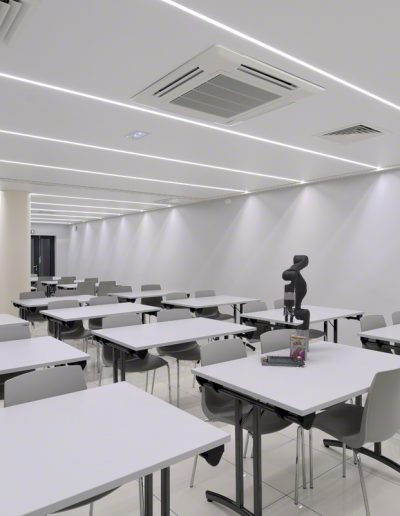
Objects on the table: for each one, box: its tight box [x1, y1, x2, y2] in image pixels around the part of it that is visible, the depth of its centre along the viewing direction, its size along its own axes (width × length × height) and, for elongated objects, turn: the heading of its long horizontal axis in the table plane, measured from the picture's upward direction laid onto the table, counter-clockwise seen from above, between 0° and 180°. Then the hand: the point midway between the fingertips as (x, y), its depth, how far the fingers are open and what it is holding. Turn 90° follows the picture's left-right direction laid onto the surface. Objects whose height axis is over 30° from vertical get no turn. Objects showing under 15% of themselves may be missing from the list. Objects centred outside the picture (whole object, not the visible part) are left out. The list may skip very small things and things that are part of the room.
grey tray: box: [260, 355, 305, 368], centre depth 270 cm, size 16×28×5 cm, turn 85°
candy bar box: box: [289, 334, 308, 362], centre depth 282 cm, size 11×5×16 cm, turn 58°
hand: (288, 322), depth 274 cm, fingers open, 8 cm apart
